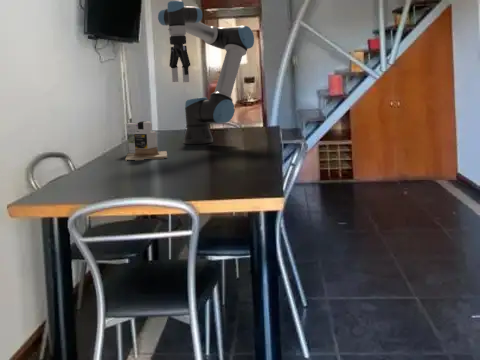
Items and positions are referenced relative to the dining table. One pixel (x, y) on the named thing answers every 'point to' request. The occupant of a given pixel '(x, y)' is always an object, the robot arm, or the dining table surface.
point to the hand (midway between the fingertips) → (180, 82)
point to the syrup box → (131, 136)
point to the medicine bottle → (145, 136)
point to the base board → (131, 156)
